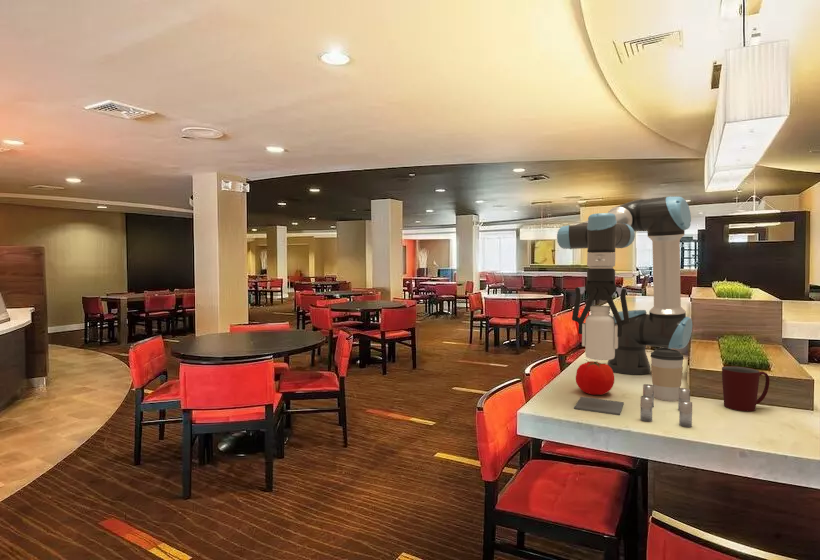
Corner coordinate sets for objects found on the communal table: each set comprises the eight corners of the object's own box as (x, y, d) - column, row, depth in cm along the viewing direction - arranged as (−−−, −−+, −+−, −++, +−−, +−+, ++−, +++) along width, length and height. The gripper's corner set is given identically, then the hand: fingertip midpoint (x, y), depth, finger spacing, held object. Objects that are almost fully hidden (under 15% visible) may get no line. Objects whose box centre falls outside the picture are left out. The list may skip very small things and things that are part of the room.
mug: (757, 403, 141) (758, 366, 140) (778, 413, 132) (779, 373, 132) (714, 402, 142) (715, 365, 142) (732, 412, 133) (732, 372, 133)
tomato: (573, 387, 160) (573, 356, 159) (610, 389, 157) (610, 358, 157) (578, 397, 148) (578, 364, 147) (618, 399, 146) (618, 366, 145)
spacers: (643, 404, 141) (643, 383, 141) (689, 409, 135) (689, 388, 135) (640, 420, 126) (640, 398, 126) (692, 428, 121) (692, 404, 120)
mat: (580, 398, 147) (580, 396, 147) (623, 403, 141) (623, 402, 141) (574, 408, 136) (574, 407, 136) (619, 415, 131) (619, 413, 131)
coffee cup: (687, 402, 142) (688, 352, 142) (654, 401, 144) (655, 351, 143) (677, 394, 151) (677, 347, 150) (646, 393, 153) (646, 346, 152)
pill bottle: (580, 355, 142) (580, 304, 141) (606, 355, 142) (607, 304, 142) (592, 360, 134) (593, 307, 133) (620, 360, 135) (621, 307, 134)
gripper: (561, 267, 139) (560, 345, 140) (640, 268, 129) (639, 352, 130) (565, 267, 146) (565, 342, 146) (641, 267, 136) (640, 347, 136)
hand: (599, 346), depth 138 cm, fingers closed on pill bottle, 8 cm apart
